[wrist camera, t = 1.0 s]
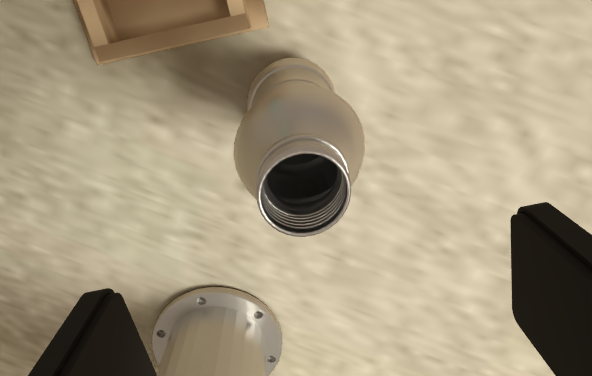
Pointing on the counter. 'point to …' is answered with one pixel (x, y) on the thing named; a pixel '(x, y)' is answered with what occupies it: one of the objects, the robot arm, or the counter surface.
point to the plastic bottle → (298, 148)
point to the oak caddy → (162, 24)
